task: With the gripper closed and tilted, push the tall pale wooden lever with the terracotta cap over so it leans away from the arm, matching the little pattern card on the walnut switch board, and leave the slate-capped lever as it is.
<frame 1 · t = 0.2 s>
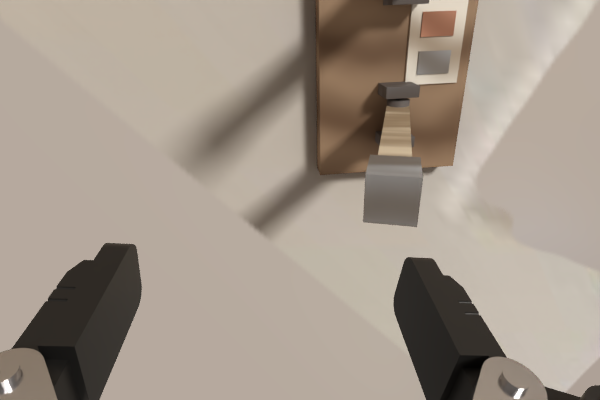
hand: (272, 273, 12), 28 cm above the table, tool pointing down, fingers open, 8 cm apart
switch board: (389, 43, 36), on the table
slate lever: (395, 144, 28), point 11 cm above the table, hinge at 20.0°
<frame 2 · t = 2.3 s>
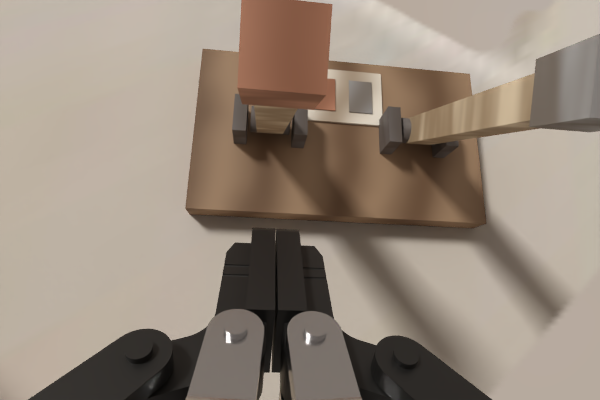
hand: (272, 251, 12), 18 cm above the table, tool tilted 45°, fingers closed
switch board: (336, 144, 34), on the table
slate lever: (477, 117, 23), point 11 cm above the table, hinge at 20.0°
terracotta lever: (274, 100, 21), point 11 cm above the table, hinge at 20.0°
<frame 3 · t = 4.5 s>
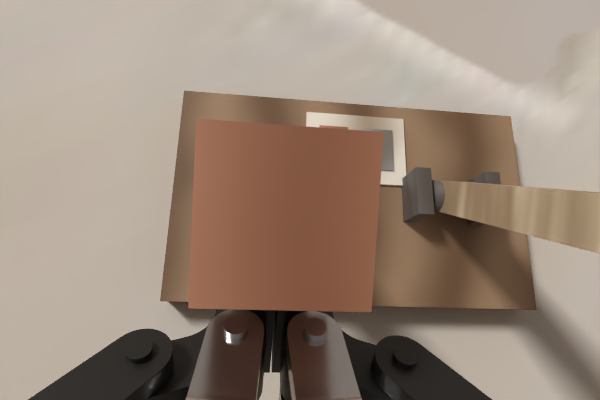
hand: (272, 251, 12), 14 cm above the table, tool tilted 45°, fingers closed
switch board: (349, 205, 28), on the table
slate lever: (549, 212, 16), point 11 cm above the table, hinge at 20.0°
terracotta lever: (271, 192, 15), point 12 cm above the table, hinge at 18.4°, touching gripper
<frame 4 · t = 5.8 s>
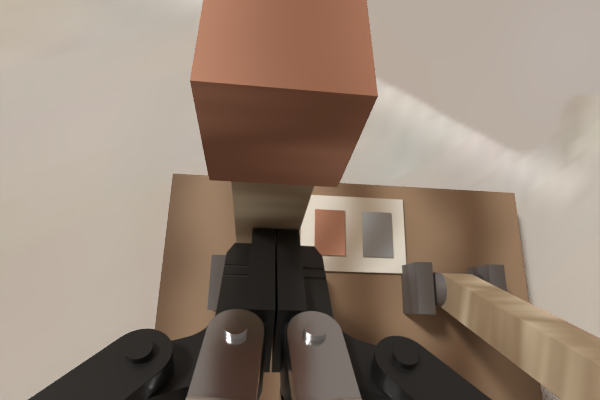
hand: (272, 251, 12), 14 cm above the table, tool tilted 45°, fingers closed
switch board: (346, 289, 26), on the table
slate lever: (561, 356, 15), point 11 cm above the table, hinge at 20.0°
terracotta lever: (265, 231, 15), point 12 cm above the table, hinge at -10.6°, touching gripper
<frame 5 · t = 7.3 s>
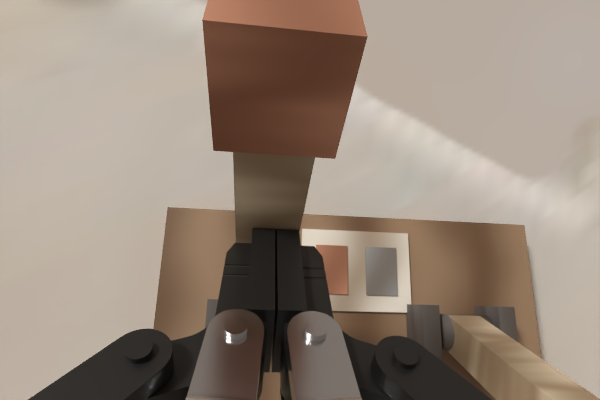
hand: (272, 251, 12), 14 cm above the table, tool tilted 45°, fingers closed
switch board: (348, 326, 25), on the table
terracotta lever: (264, 249, 15), point 11 cm above the table, hinge at -23.7°, touching gripper
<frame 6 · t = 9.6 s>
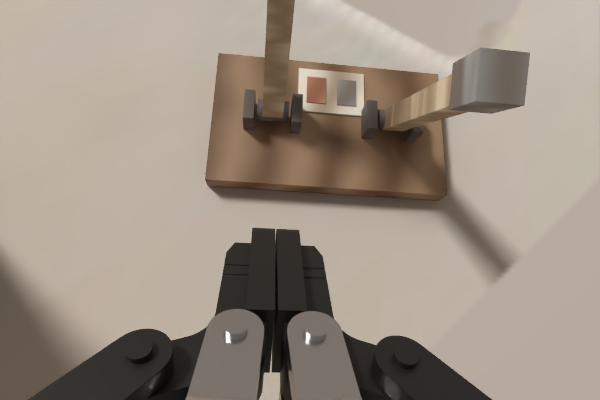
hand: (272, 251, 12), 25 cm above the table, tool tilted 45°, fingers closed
switch board: (327, 131, 41), on the table
slate lever: (427, 106, 30), point 11 cm above the table, hinge at 20.0°
terracotta lever: (279, 25, 31), point 11 cm above the table, hinge at -23.7°
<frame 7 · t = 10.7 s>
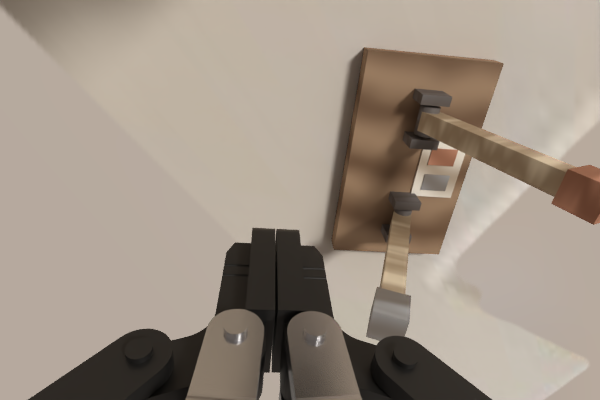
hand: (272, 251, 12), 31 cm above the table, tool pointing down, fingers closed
switch board: (403, 160, 45), on the table
slate lever: (395, 259, 38), point 11 cm above the table, hinge at 20.0°
terracotta lever: (496, 151, 33), point 11 cm above the table, hinge at -23.7°
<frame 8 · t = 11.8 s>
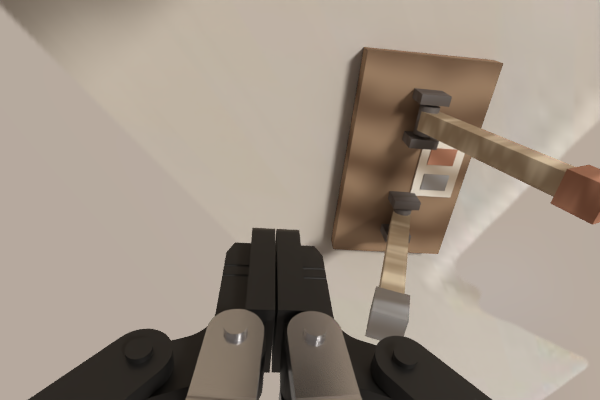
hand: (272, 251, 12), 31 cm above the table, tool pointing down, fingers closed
switch board: (403, 160, 45), on the table
slate lever: (395, 259, 38), point 11 cm above the table, hinge at 20.0°
terracotta lever: (495, 151, 33), point 11 cm above the table, hinge at -23.7°
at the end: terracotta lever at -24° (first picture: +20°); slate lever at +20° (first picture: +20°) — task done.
